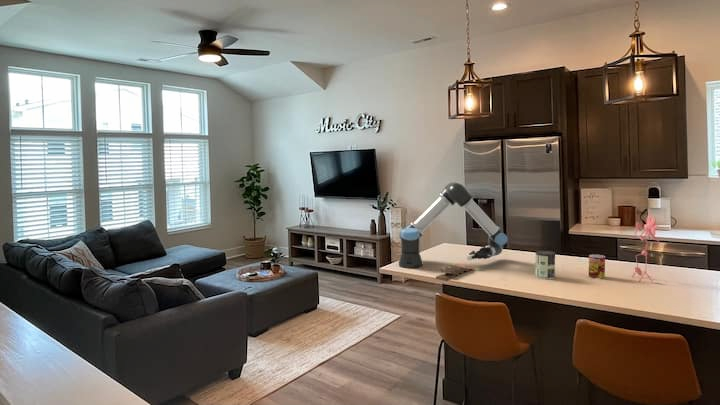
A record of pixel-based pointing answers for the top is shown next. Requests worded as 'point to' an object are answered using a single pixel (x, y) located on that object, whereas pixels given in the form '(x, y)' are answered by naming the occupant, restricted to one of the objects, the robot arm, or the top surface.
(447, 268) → the domino
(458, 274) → the domino
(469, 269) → the domino
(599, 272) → the canned food
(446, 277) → the domino
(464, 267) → the domino
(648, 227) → the figurine
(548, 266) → the coffee can
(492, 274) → the top surface
